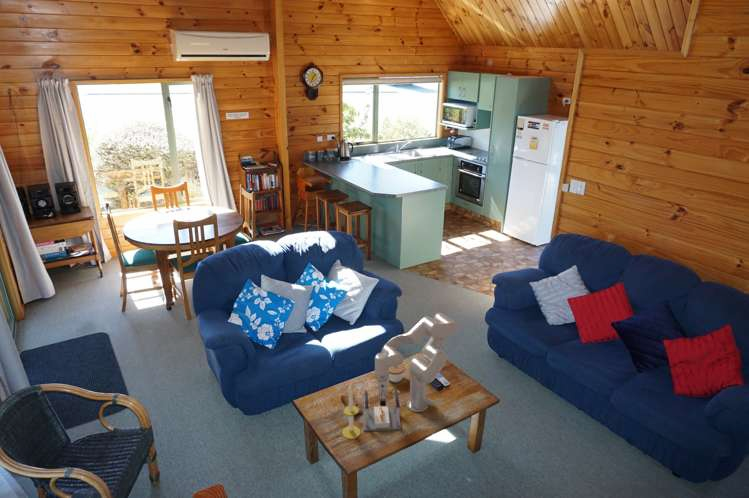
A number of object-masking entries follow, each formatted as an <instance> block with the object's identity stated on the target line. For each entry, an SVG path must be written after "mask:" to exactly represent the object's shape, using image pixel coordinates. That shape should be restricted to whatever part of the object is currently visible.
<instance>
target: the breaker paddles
mask: <svg viewBox="0 0 749 498" xmlns="http://www.w3.org/2000/svg"><path fill="white" fill-rule="evenodd" d="M378 407H379V409H380V418H381V420H382V419H383V415H382V407H383V406H380V404H379V405H378Z"/></svg>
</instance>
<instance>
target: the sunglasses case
mask: <svg viewBox="0 0 749 498" xmlns="http://www.w3.org/2000/svg"><path fill="white" fill-rule="evenodd" d="M340 399H341V401H342V403H343V405H344V407H345V406H347V405H349V395H341V396H340ZM353 405H355V406H357V407H358V408H359V411H358V413H357V414H355V415H353V418H356V417H359V416H363V410H364V409H363V408H362V407H361V405H360V404H359V403H358V400H357V399H356V397H355V396H353Z"/></svg>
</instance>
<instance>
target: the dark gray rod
mask: <svg viewBox="0 0 749 498" xmlns="http://www.w3.org/2000/svg"><path fill="white" fill-rule="evenodd" d="M394 393H395V398H396V406H397V408H399V407H400V402H399V401H400V400H399V394H398V390H397V389H394ZM400 408H401V407H400Z"/></svg>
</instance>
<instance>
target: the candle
mask: <svg viewBox="0 0 749 498" xmlns="http://www.w3.org/2000/svg"><path fill="white" fill-rule="evenodd" d="M353 393H354V392H353V386H352V383H350V384H349V386H348V396H349V405H347V406H345V405H344V407H343V409H342V412H343V413H344V415H346V416H348V426H346V427H345V428H343V430H342V436H343V437H344V438H346V439H349V440H352V439H353V440H354V439H357V438H358V437H360V436H361V429H360V428H359V427H358V426H356V425H354V422H355V421H354V417H353V415H355V414H357V413H358V411H359V408H358V407H357V406H355V405H353V395H354V394H353Z"/></svg>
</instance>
